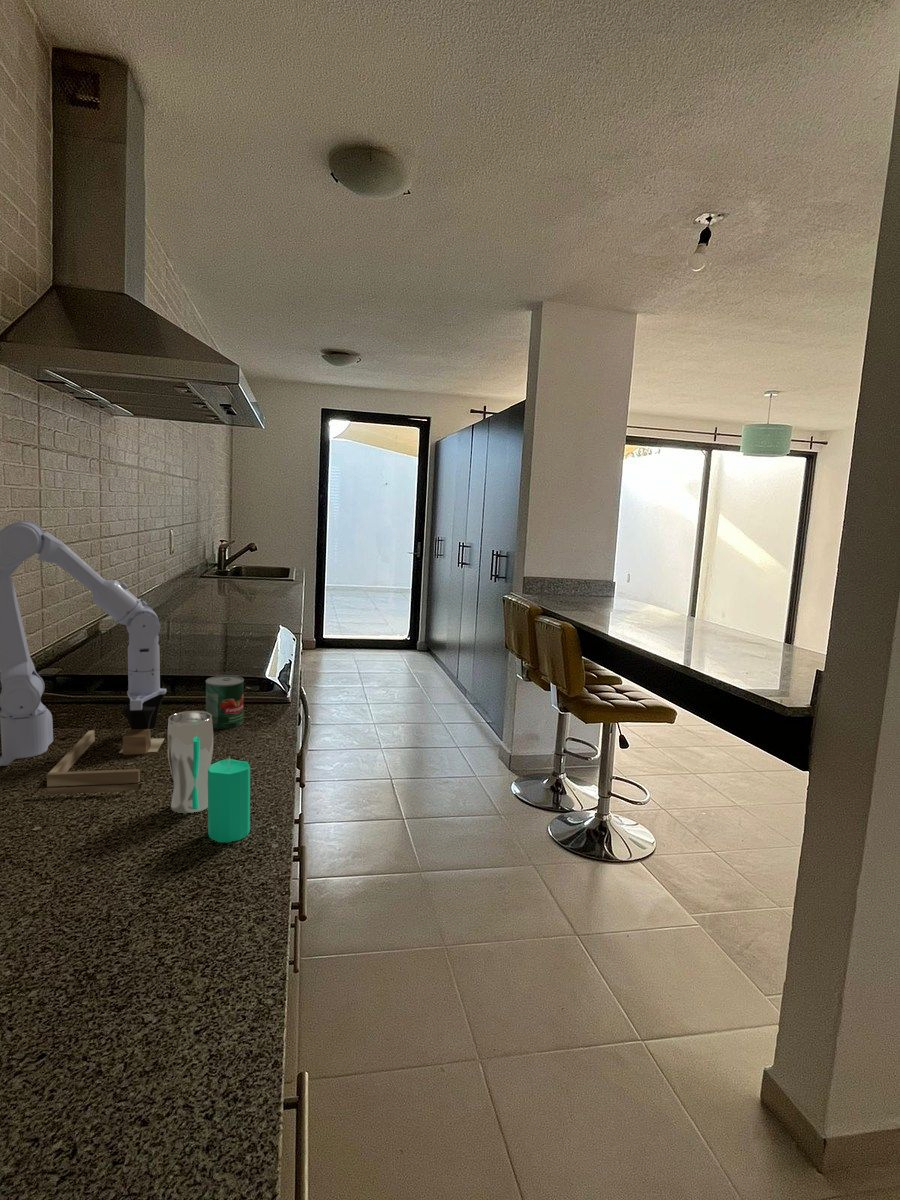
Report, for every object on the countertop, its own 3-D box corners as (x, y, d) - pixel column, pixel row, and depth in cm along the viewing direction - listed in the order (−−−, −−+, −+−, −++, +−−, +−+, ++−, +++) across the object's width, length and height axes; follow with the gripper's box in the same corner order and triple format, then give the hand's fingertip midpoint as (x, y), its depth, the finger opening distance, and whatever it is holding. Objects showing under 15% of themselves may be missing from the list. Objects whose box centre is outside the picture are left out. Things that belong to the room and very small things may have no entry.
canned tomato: (236, 735, 140) (236, 685, 139) (199, 733, 140) (199, 683, 139) (248, 723, 148) (248, 676, 147) (213, 722, 148) (213, 674, 147)
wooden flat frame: (89, 747, 130) (89, 730, 130) (165, 744, 133) (164, 728, 133) (47, 794, 109) (46, 774, 108) (138, 790, 112) (138, 771, 112)
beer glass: (222, 802, 109) (222, 714, 107) (190, 819, 103) (189, 726, 101) (191, 793, 112) (191, 707, 110) (158, 809, 106) (156, 718, 104)
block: (128, 746, 127) (128, 729, 127) (150, 745, 128) (150, 728, 128) (123, 754, 124) (122, 737, 123) (146, 754, 124) (145, 736, 124)
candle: (237, 845, 96) (237, 766, 94) (199, 839, 97) (199, 761, 95) (257, 826, 101) (257, 751, 100) (221, 821, 103) (221, 747, 101)
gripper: (157, 677, 124) (159, 746, 126) (172, 660, 138) (173, 722, 140) (117, 678, 123) (119, 747, 125) (136, 660, 137) (137, 723, 139)
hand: (145, 734), depth 132 cm, fingers open, 7 cm apart
